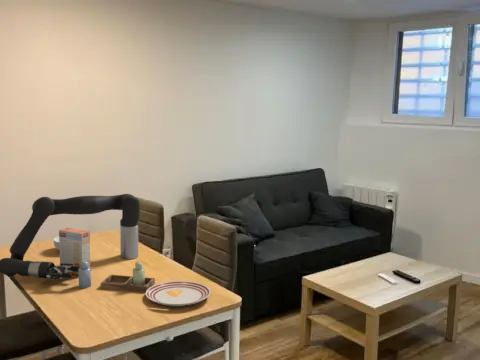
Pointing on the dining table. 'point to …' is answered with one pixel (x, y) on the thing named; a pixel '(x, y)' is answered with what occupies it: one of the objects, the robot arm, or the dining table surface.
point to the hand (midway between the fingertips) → (75, 272)
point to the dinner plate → (187, 297)
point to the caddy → (126, 283)
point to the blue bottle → (84, 275)
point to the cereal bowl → (56, 242)
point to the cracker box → (74, 247)
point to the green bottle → (138, 274)
